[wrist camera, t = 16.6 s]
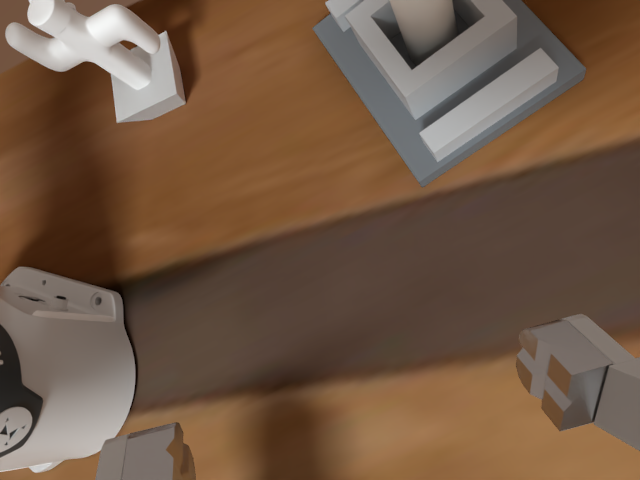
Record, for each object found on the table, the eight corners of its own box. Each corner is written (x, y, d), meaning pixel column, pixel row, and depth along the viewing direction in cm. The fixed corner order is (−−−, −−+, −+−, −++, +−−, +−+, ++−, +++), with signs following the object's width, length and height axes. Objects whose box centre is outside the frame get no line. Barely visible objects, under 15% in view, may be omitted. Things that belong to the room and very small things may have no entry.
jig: (583, 79, 36) (595, 37, 31) (422, 187, 39) (408, 165, 34) (448, -66, 42) (439, -121, 37) (318, 37, 45) (294, -1, 40)
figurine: (209, 106, 48) (88, 14, 34) (134, 140, 51) (-4, 69, 37) (197, 46, 50) (79, -63, 36) (127, 82, 53) (-8, -6, 39)
